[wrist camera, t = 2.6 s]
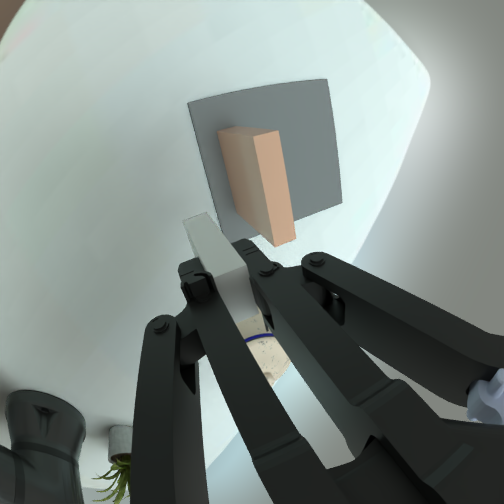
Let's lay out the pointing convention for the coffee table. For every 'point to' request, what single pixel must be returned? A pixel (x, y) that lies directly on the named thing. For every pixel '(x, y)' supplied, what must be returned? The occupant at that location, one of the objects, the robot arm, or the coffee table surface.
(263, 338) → the teacup with lid
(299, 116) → the mat
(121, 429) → the house plant
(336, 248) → the coffee table surface
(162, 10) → the coffee table surface
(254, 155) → the tile
